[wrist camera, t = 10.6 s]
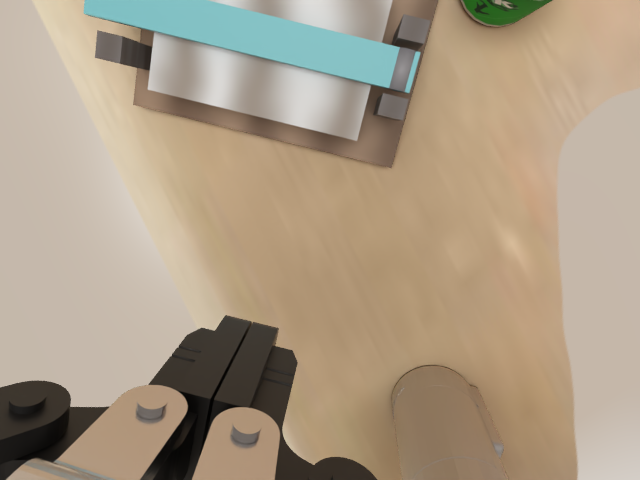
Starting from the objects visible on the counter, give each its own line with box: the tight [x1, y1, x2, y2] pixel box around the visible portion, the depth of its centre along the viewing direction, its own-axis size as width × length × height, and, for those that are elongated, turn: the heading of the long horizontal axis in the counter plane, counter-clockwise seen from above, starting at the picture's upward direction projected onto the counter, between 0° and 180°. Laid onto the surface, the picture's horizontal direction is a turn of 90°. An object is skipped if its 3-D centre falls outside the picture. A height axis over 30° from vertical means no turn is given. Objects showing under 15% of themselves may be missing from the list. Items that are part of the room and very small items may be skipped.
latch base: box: [95, 0, 438, 168], centre depth 38 cm, size 26×16×10 cm, turn 77°
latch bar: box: [84, 0, 421, 94], centre depth 34 cm, size 26×3×2 cm, turn 77°
